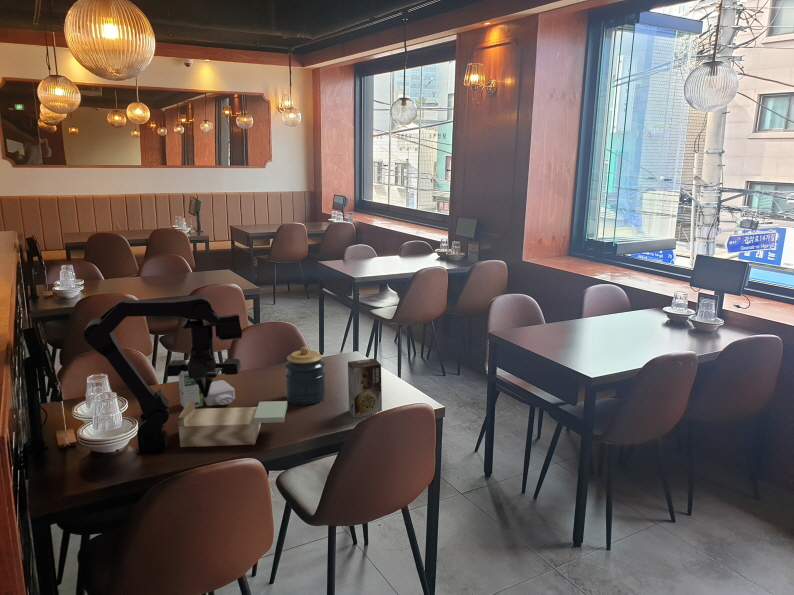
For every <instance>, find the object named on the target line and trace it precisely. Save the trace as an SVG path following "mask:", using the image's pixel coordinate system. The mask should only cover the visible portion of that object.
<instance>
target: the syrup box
mask: <svg viewBox="0 0 794 595" xmlns="http://www.w3.org/2000/svg"><path fill="white" fill-rule="evenodd" d="M185 361H186V364H188V362H189V359H187V360H185ZM188 376H189V374H188V371H181V373H180V374H179V375H178V376H177V377H178V387H179V399H180V400H179V402H180V405H181V407H183V409H184V408H185V406H186V405H187V403H188V402H189V401H194V404H195V408H200V407H203V406H204V401H203V397H202V392H201V390H200V388H199V386H198V384H197V383H196V381H195V380H194V379H192V378H189V377H188ZM199 406H200V407H199Z"/></svg>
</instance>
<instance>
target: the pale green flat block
mask: <svg viewBox="0 0 794 595" xmlns="http://www.w3.org/2000/svg"><path fill="white" fill-rule="evenodd" d="M256 407H257V410H256V413H255V416H254V423H261V424H264V423H265V424H268V423H269V424H270V423H284V422H285V418H286V413H287V409H288V401H287V400H283V401H282V400H278V401H277V400H276V401H274V400H273V401H259V402H258V405H257V406H256Z"/></svg>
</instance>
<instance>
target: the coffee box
mask: <svg viewBox="0 0 794 595" xmlns="http://www.w3.org/2000/svg"><path fill="white" fill-rule="evenodd" d="M347 378H348V379H347V381H348V386H347V387H348V411H349V412H350V414H351V415H352V416H353V417H354V418H360V417H366V416H373V415H375V414H374V413H377V412H380V411H382V412H383V406H382V405H383V403H382V400H383V399H382V398H383V396H382V394H383V393H382V364H381V363H380V362H379V361H378V360H377V359H376V358H368V359H367V358H366V359H360V360H359V359H358V360H353V361H347ZM372 414H373V415H372Z"/></svg>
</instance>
